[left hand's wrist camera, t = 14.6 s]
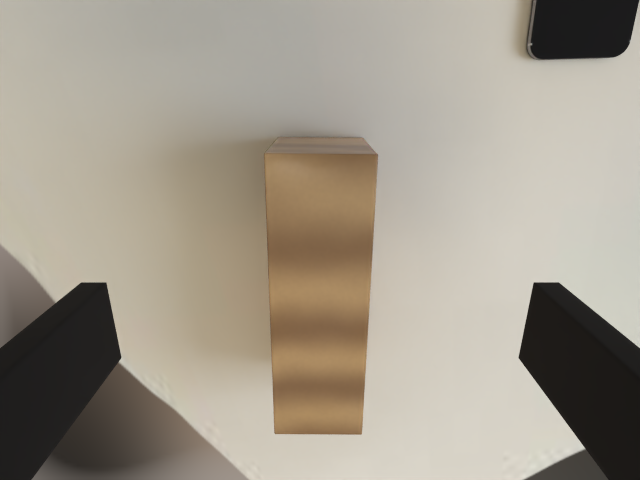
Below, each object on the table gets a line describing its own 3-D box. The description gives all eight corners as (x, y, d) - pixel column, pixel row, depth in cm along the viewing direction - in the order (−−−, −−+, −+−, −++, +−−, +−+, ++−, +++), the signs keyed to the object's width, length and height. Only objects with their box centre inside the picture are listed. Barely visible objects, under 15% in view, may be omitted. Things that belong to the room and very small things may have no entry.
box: (278, 137, 33) (263, 153, 24) (363, 137, 33) (378, 154, 24) (283, 363, 40) (274, 434, 32) (353, 363, 40) (361, 434, 32)
